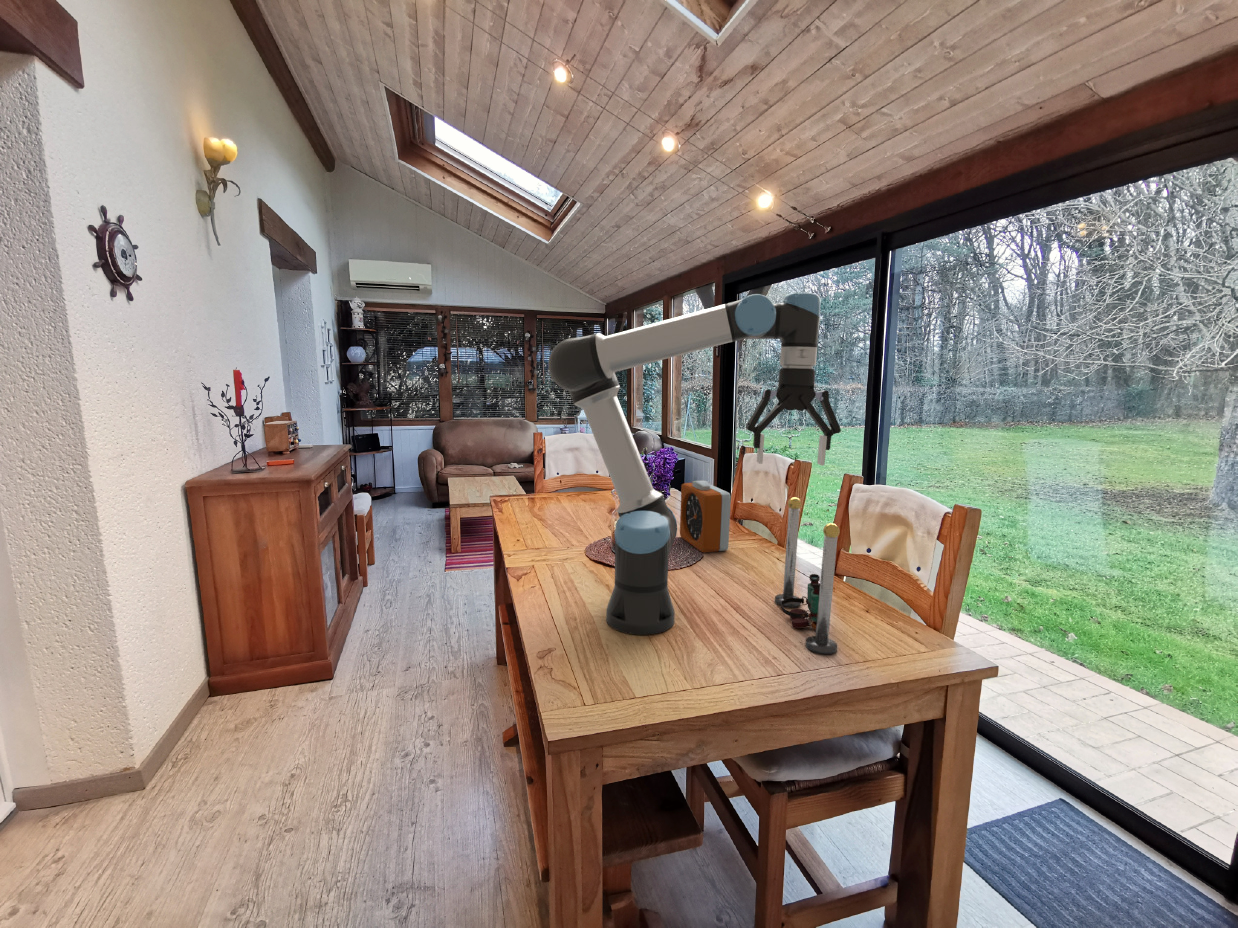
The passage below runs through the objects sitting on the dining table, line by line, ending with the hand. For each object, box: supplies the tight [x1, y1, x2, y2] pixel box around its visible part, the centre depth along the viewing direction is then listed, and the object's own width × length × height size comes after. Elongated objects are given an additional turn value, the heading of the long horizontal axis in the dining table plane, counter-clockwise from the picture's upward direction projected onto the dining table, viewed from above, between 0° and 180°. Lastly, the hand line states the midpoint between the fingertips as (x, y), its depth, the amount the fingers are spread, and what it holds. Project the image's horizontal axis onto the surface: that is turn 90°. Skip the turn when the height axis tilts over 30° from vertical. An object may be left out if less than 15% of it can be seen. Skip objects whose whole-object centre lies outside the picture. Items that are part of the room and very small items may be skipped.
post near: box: [804, 522, 840, 656], centre depth 112 cm, size 6×6×26 cm
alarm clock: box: [679, 480, 732, 553], centre depth 178 cm, size 18×9×21 cm, turn 17°
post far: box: [774, 496, 802, 609], centre depth 133 cm, size 6×6×26 cm
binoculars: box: [780, 573, 821, 630], centre depth 124 cm, size 9×11×10 cm
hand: (790, 463), depth 126 cm, fingers open, 13 cm apart
